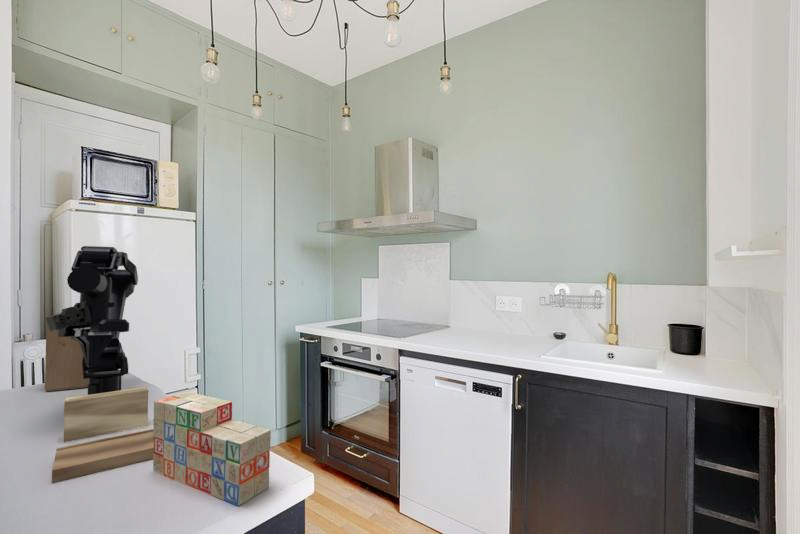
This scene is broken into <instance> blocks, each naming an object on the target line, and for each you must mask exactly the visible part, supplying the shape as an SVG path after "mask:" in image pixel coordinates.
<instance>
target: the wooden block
mask: <svg viewBox="0 0 800 534" xmlns="http://www.w3.org/2000/svg"><path fill="white" fill-rule="evenodd" d="M45 324H46V325H45V326H46V327H45V361H44V362H45V363H44V364H45V366H44V367H45V369H44V373H45V374H44V390H45V391H46V392H55V391H65V390H77V389H86V388H88V385H89V381H90V378H87V379H84V378H83V367H82V360H83V356H84V355H83V351H82V348H81V346H80V344H79V343H78V342H77V341H75V340H74V339H71V337H58V331H59V330H55V329H54V330H52V331H50V330H49V327H48V324H47V322H46V323H45Z"/></svg>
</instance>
